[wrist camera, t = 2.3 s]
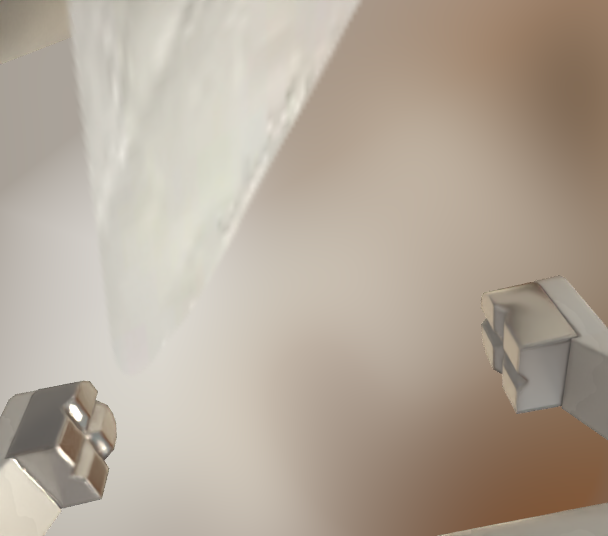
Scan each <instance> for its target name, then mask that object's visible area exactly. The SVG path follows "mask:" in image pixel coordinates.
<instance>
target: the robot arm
mask: <svg viewBox="0 0 608 536" xmlns="http://www.w3.org/2000/svg"><path fill="white" fill-rule="evenodd" d="M481 309H482V310H483V312H484V314H485V316H486V319H485V321H484V322H483V323H482V324H481V327H482V339H483V344H484V348H485V352H486V354H487V357H488V360H489V362H490V363H491V366H492V368H493V369H494V370H496V371H497V372H499V373H501V374H502V375H503V380H502V381H503V382H502V387H503V389H504V391H505V392H506V395H507V396H508V398H509V400H510V402H511V404H512V406H513V408H514V409H515V411H516V413H517V414H518V413H525V412H530V411H535V410H541V409H547V408H553V407H558V406H562V409H564V410H565V411H567V412H568V413H570V414H571V415H573V416H574V417H575V418H577V419H578V420H580V421H581V422H582V423H584V424H585V425H587V426H588V427H590V428H591V429H593V430H594V431H595V432H597V433H598V434H600V435H601V436H603V437H604V438H606V439H607V440H608V328H607V327H606V326H605V324H604V323H603V322H602V321H601V319H600V318H599V317H598V316H597V315H596V314H595V312H594V311H593V310H592V309H591V308H590V307H589V305H588V304H587V303H586V302H585V301H584V299H583V298H582V297H581V296H580V295H579V294H578V292H576V290H575V289H574V288H573V286H572V285H571V284H570V283H569V282H568V281H567V279H566V278H565V277H563V276H560V275H558V276H554V277H550V278H546V279H542V280H537V281H534V282H530V283H525V284H521V285H516V286H512V287H507V288H503V289H499V290H495V291H490V292H485V293H483V295H482V298H481ZM97 393H98V391H97V390H96V389H95V387H94V386H93V385H92V383H91V382H90V381H80V382H74V383H70V384H64V385H59V386H54V387H49V388H44V389H39V390H36V391H31V392H26V393H21V394H16V395H15V396H13V397H12V398H10V399H9V401H8V402H7V404H6V407H5V409H4V411H3V413H2V415H1V417H0V536H44V535H45V534H46V532H47V531H48V529H49V528H50V527H51V525H52V524H53V523H54V521H55V520H56V518H57V517H58V515H59V514H60V513H61V509H62V508H66V507H71V506H75V505H79V504H83V503H87V502H92V501H96V500H100V499H102V496H103V492H104V488H105V483H106V480H107V476H108V472H109V468H108V466H107V464H106V463H105V461H104V460H105V459H106V458H107V457H108V456H109V455H110V453H111V452H112V451H113V450H114V447H115V441H116V438H117V433H116V422H115V419H114V416H113V413H112V411H111V410H110V408H109V407H108V405H106V404H104V403H101V402H99V401H97V400H96V396H97ZM439 536H608V503H604V504H598V505H593V506H588V507H583V508H578V509H572V510H568V511H563V512H557V513H552V514H547V515H542V516H537V517H532V518H526V519H521V520H516V521H511V522H506V523H500V524H496V525H490V526H485V527H480V528H475V529H470V530H465V531H459V532H454V533H449V534H444V535H439Z"/></svg>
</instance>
